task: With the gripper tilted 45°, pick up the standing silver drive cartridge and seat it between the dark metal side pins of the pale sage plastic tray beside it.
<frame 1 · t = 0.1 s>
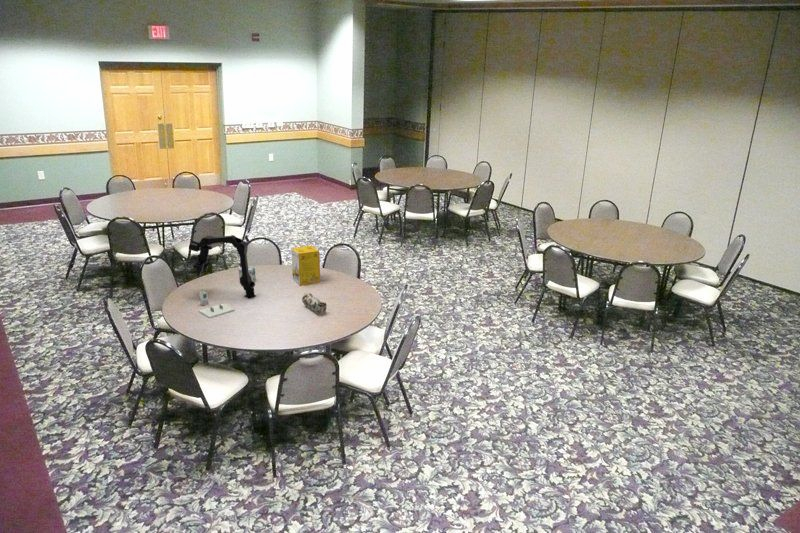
hand: (200, 273, 408), 15 cm above the table, tool pointing down, fingers open, 9 cm apart
pencil case: (314, 310, 391), on the table
light bulb box: (247, 281, 440), on the table
pin tray: (216, 311, 386), on the table
packaging box: (306, 281, 443), on the table
drive cartridge: (204, 304, 397), on the table
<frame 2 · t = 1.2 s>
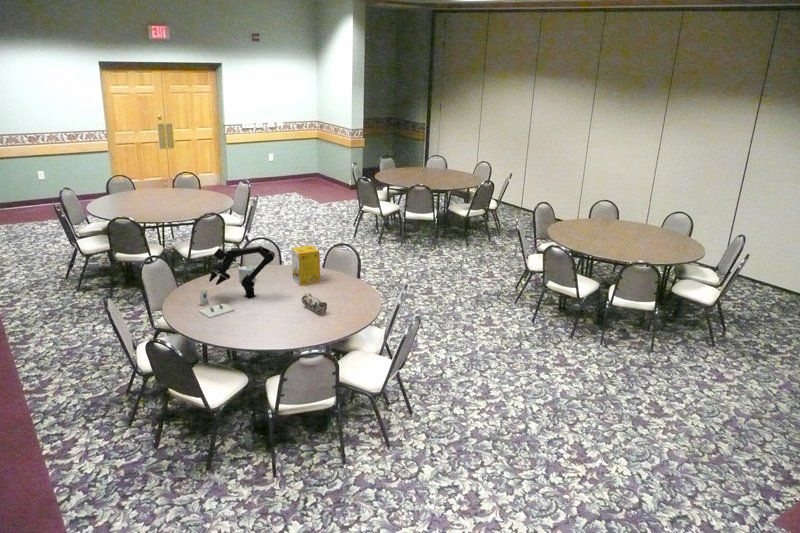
hand: (212, 283, 398), 13 cm above the table, tool tilted 45°, fingers open, 9 cm apart
nothing on the table moved.
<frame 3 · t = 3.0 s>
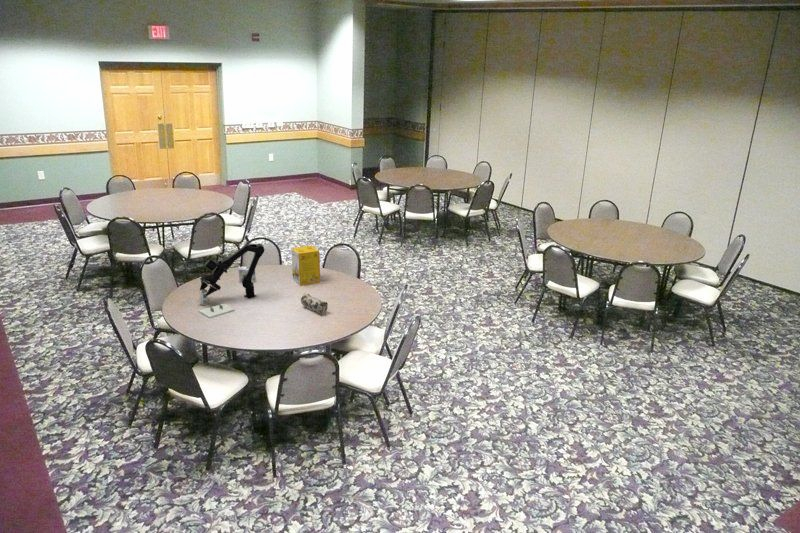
hand: (203, 293, 394), 8 cm above the table, tool tilted 45°, fingers open, 9 cm apart
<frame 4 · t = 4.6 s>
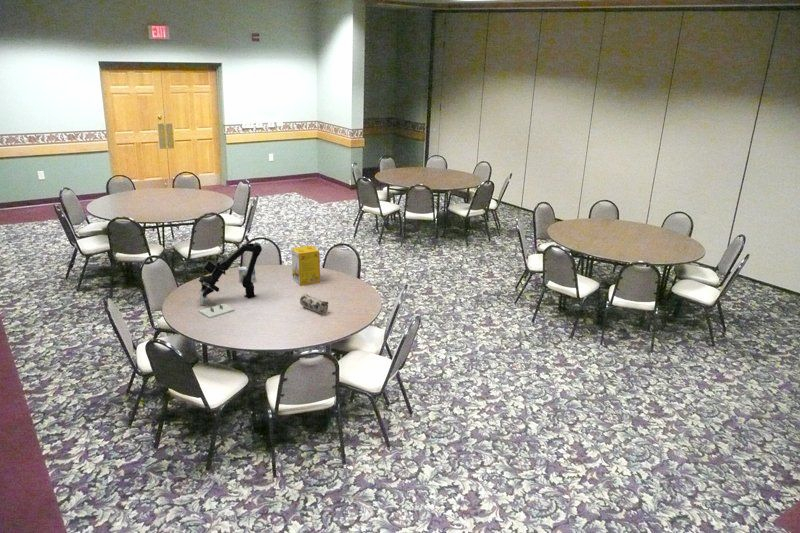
hand: (201, 295, 394), 7 cm above the table, tool tilted 45°, fingers closed on drive cartridge, 4 cm apart
drive cartridge: (204, 304, 397), on the table, touching gripper
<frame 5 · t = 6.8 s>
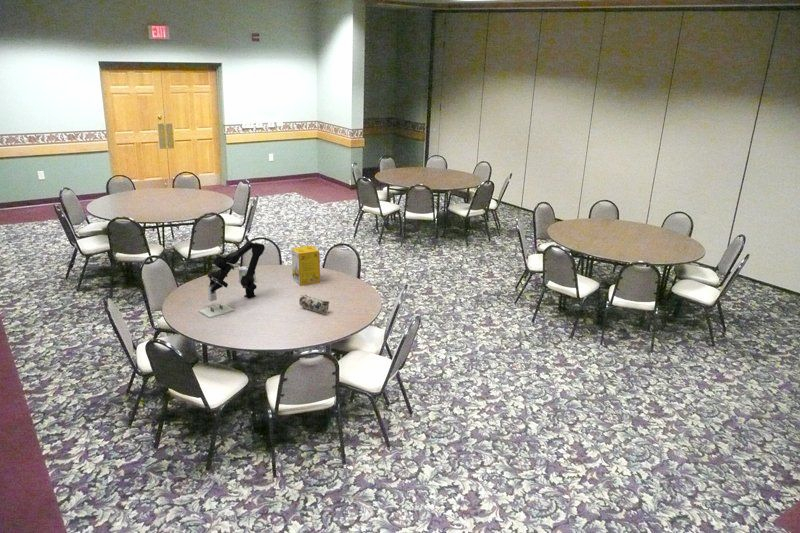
hand: (209, 291, 383), 14 cm above the table, tool tilted 45°, fingers closed on drive cartridge, 4 cm apart
drive cartridge: (212, 299, 386), point 7 cm above the table, touching gripper
when the fingers open (8 cm above the table, at t = 9.1 s): drive cartridge stays where it is, resting on pin tray.
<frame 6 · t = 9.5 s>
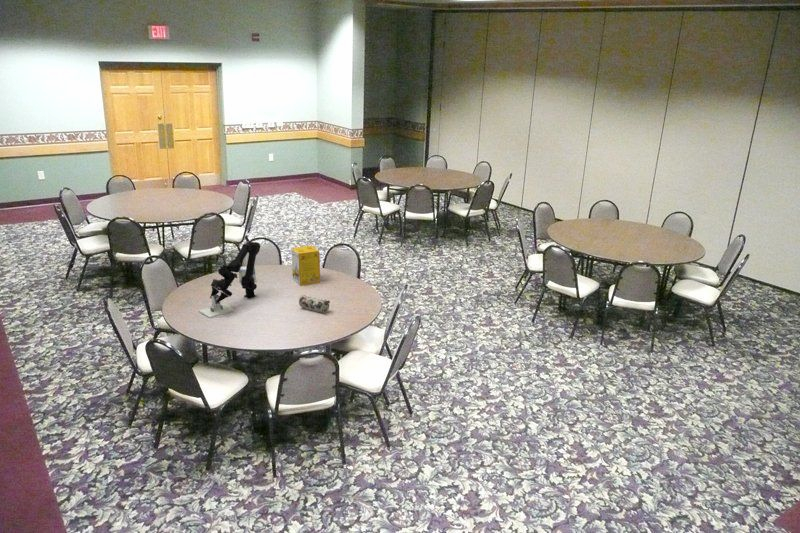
hand: (213, 300, 382), 8 cm above the table, tool tilted 45°, fingers open, 8 cm apart
drive cartridge: (216, 310, 385), point 1 cm above the table, touching pin tray
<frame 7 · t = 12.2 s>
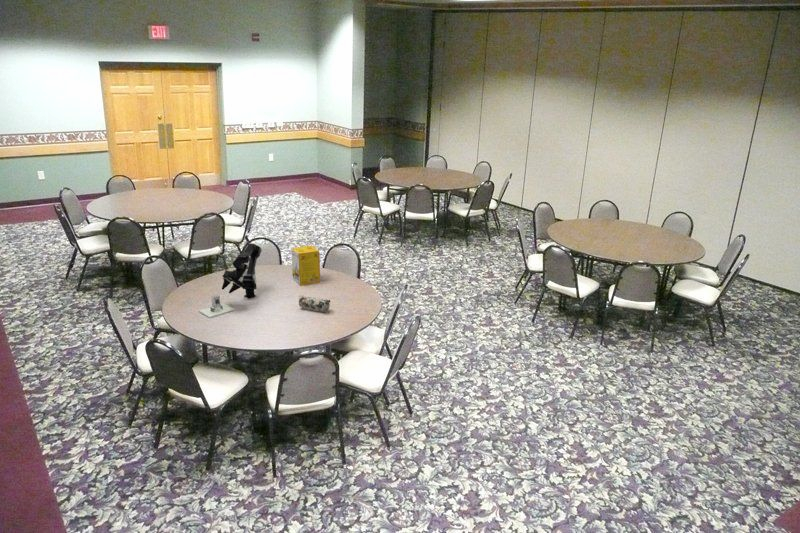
hand: (225, 291, 386), 12 cm above the table, tool tilted 45°, fingers open, 9 cm apart
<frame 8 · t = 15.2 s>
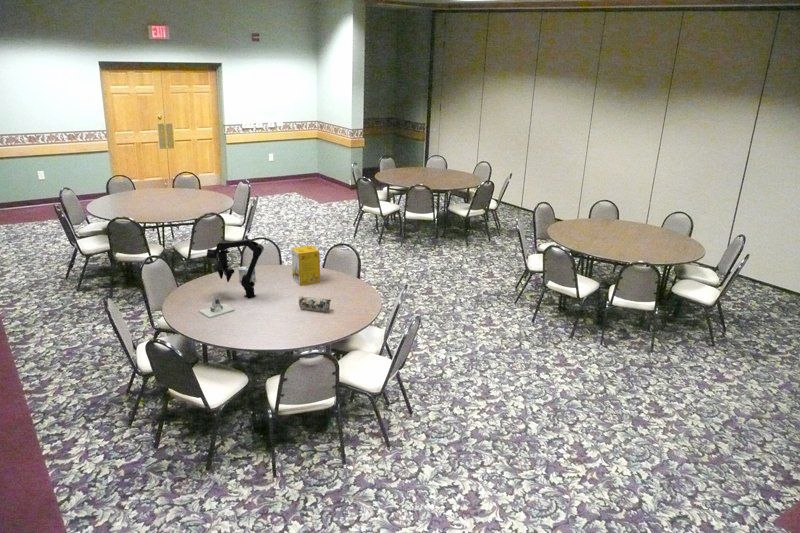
hand: (224, 280, 407), 12 cm above the table, tool pointing down, fingers open, 9 cm apart
at the end: drive cartridge 0.0 cm off-centre on the pin tray, point 1.0 cm above the pin tray's base; drive cartridge tilted 0°; the gripper is holding nothing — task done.
